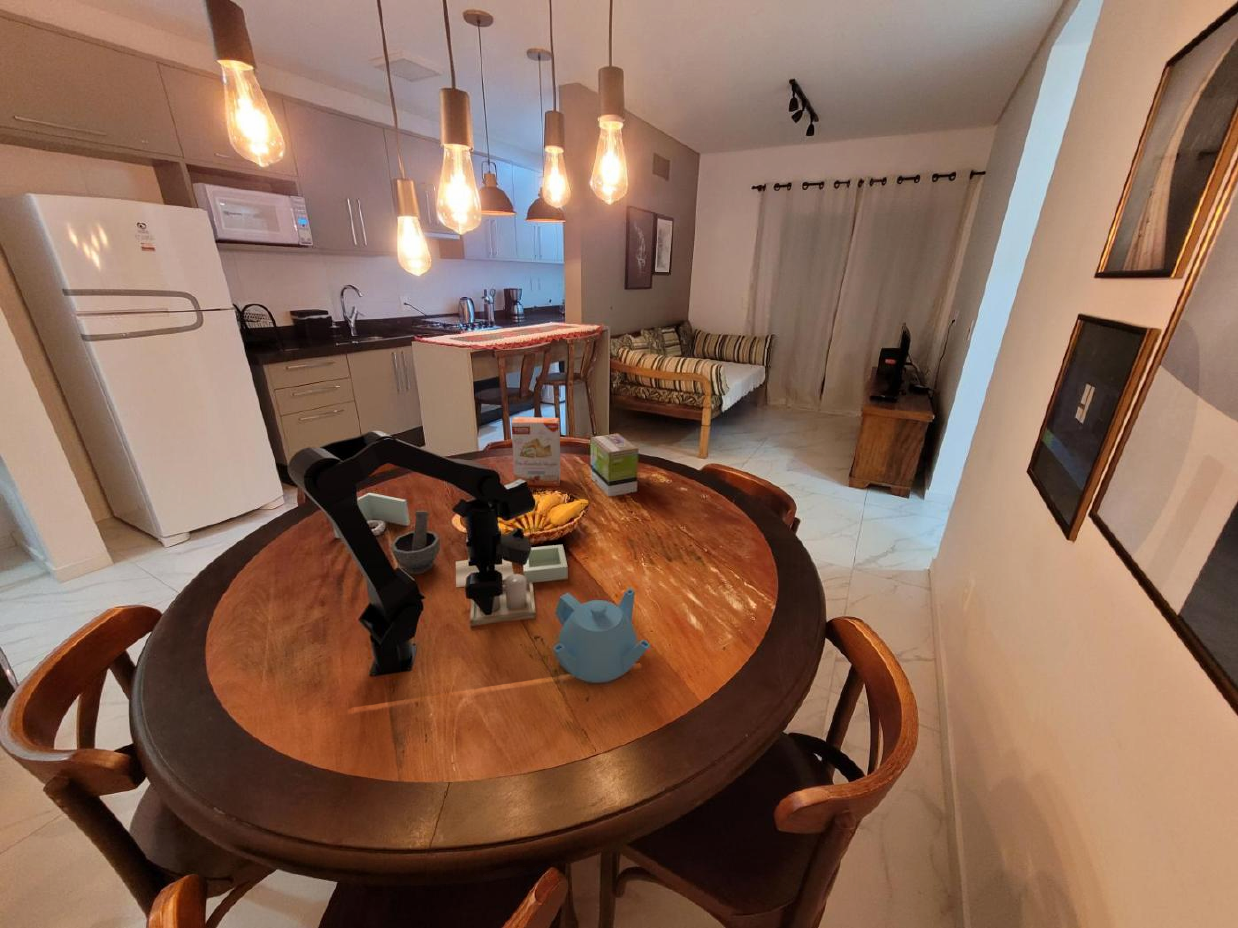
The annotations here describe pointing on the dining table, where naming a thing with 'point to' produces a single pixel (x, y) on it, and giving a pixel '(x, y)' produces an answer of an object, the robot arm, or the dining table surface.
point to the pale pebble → (515, 591)
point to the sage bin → (546, 564)
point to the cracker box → (536, 450)
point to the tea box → (614, 464)
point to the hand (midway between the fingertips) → (489, 599)
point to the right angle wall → (382, 511)
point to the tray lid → (465, 570)
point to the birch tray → (504, 610)
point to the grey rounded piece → (495, 604)
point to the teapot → (597, 638)
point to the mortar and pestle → (417, 547)
